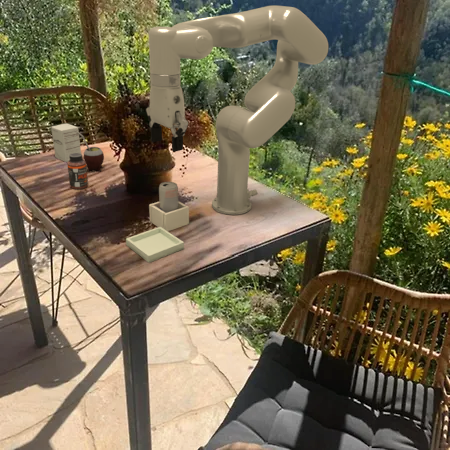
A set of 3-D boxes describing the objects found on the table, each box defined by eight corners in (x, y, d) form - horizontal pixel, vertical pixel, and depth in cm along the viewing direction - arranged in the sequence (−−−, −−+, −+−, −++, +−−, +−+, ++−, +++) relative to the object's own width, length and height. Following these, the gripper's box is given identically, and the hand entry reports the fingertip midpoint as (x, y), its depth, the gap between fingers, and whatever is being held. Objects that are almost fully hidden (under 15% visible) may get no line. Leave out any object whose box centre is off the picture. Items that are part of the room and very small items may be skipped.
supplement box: (55, 158, 177) (50, 126, 171) (71, 153, 182) (67, 122, 176) (65, 162, 173) (61, 130, 167) (82, 158, 178) (78, 126, 172)
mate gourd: (108, 169, 168) (105, 130, 161) (90, 175, 163) (86, 134, 156) (96, 164, 172) (92, 126, 165) (78, 170, 167) (73, 130, 160)
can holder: (172, 213, 138) (172, 197, 136) (188, 223, 133) (188, 207, 130) (149, 221, 134) (149, 204, 131) (165, 232, 128) (165, 214, 126)
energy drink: (169, 216, 137) (168, 179, 131) (182, 222, 134) (181, 185, 128) (156, 222, 133) (154, 185, 127) (169, 228, 130) (168, 190, 124)
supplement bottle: (81, 191, 151) (77, 158, 145) (66, 188, 152) (62, 156, 147) (91, 184, 156) (88, 153, 150) (77, 182, 157) (73, 150, 152)
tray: (160, 232, 128) (160, 226, 127) (183, 248, 121) (183, 242, 120) (126, 245, 121) (125, 238, 120) (148, 262, 114) (148, 256, 113)
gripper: (198, 84, 111) (197, 151, 119) (158, 73, 122) (160, 135, 130) (173, 88, 106) (174, 157, 114) (134, 76, 117) (137, 140, 125)
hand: (166, 145), depth 122 cm, fingers open, 9 cm apart
